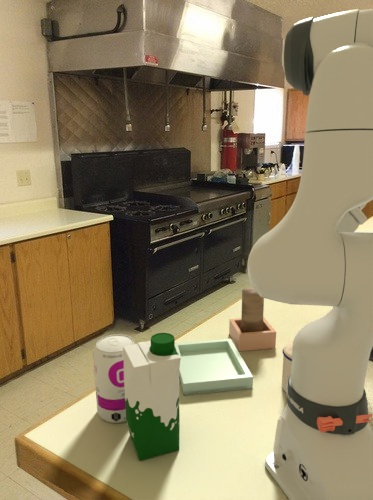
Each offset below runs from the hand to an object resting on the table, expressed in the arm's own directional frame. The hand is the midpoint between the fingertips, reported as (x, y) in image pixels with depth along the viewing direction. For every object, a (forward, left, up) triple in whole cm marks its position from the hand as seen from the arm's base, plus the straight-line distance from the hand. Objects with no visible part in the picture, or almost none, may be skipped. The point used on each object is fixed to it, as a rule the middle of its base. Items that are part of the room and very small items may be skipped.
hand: (301, 244), depth 108 cm
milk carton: (-34, +41, -26) cm, 60 cm away
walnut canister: (0, +12, -26) cm, 29 cm away
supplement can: (-24, +47, -26) cm, 59 cm away
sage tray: (-12, +26, -26) cm, 39 cm away
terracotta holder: (0, +12, -26) cm, 29 cm away
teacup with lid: (-22, +7, -26) cm, 35 cm away
